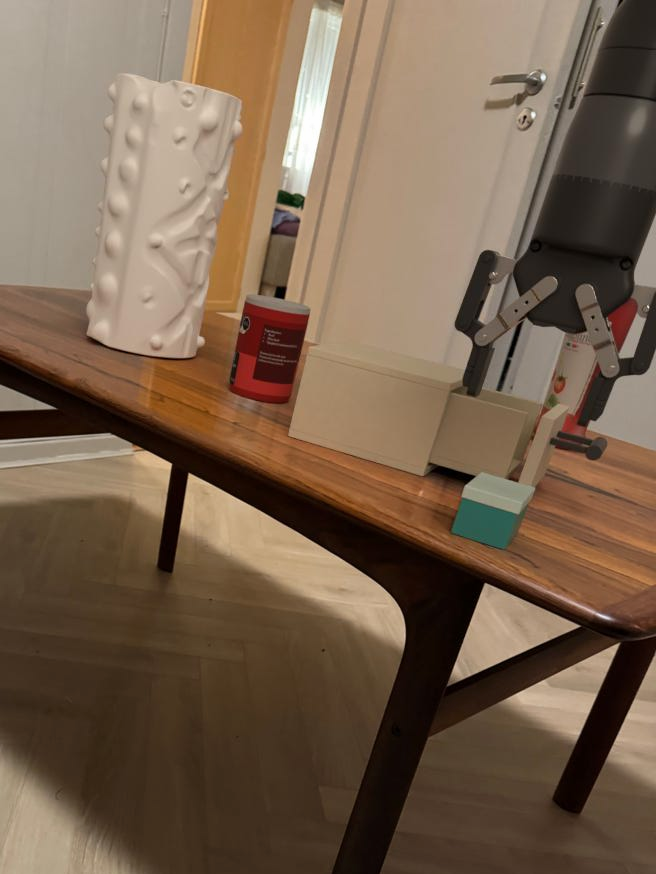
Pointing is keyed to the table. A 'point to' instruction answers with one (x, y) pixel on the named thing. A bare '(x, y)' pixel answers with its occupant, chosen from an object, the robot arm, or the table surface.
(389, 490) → the table surface
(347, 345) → the cabinet
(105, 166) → the vase
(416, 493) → the table surface
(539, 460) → the drawer
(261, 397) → the canned food
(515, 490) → the small lidded box
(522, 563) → the table surface
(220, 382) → the table surface
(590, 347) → the liquor
